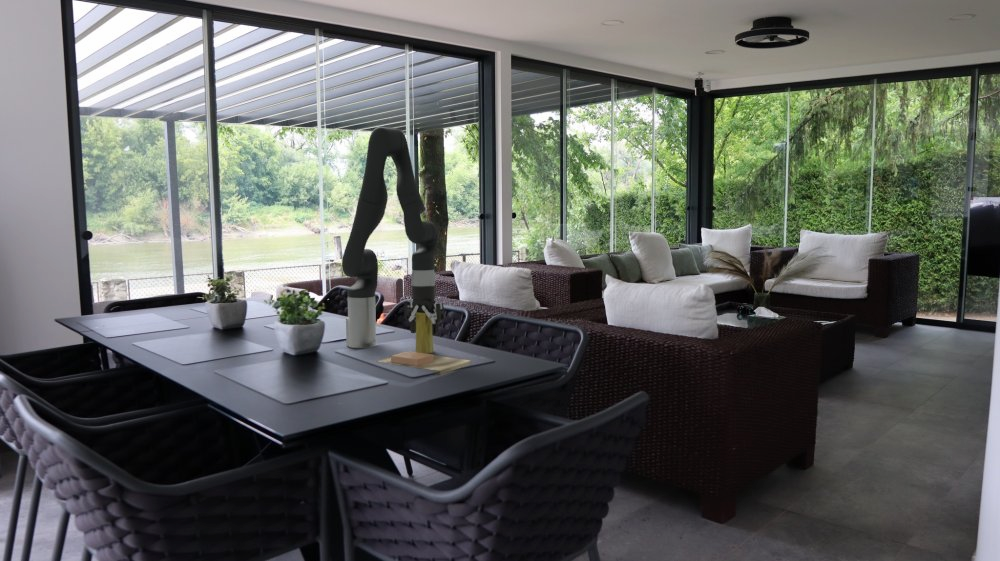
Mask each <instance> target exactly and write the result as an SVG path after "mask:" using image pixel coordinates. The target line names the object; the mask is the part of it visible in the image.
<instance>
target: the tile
mask: <svg viewBox="0 0 1000 561" xmlns="http://www.w3.org/2000/svg"><path fill="white" fill-rule="evenodd" d="M434 356H435V355H434V354H433V353H427V354H425V353H418V352H416V351H410V350H406V351H403V352H399V353H396V354H392V355H391V356H390V357H391V362H393V363H399V364H406V365H413V366H420V365H423V364H426V363H429V362H432V361H434Z"/></svg>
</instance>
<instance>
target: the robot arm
mask: <svg viewBox="0 0 1000 561" xmlns="http://www.w3.org/2000/svg"><path fill="white" fill-rule="evenodd" d="M388 158H391V160H392V162H393V163H394V166H395V168H396V185H395V186H396V187H395V191H396V196H397V199H398V201H399V205H400V208H401V210H402V213H403V222H404V231H405V234H406V237H407V239H408V240H409V241H410V242H411V243H413V244H415V245H416V244H417V245H418V249H417V250H416V251H414V252H413V253H412V254H411V298H412V300H405V301H404V309H403V310H404V314H403V315H404V320H407V321H408V322H409V332H410V334H416V312H418V313H426V315H427V316H428V318H430V319H431V321H432V335H433V337H434V336H438V334H440V333H439V332H440V323H442V322H445V308H444V303H443V302H437V303H436V301H435V300H436V275H435V254H436V249H437V244H438V237H439V233H438V232H439V231H438V228H437V226H436V224H435V223H434V222H432V221H429V220H427V221H426V220H424V221H423V220H422V216H421V214H423V213H424V212H425V205H424V202H423V201H424V200H423V199H422V197H421V193H420V190H419V187H418V185H417V182H416V179H415V175H414V170H413V164H412V159H411V155H410V148H409V144H408V141H407V138H406V135H405V133H404V132H403V131H402V130H401V129H399V128H395V127H388V126H386V127H385V126H378V127H376V128H374V129H373V130H372V132H371V133H370V135H369V139H368V144H367V153H366V159H365V160H366V161H365V168H364V173H363V179H362V184H361V189H360V192H359V196H358V200H357V205H356V210H355V215H354V218H353V223H352V226H351V229H350V234H349V236H348V240H347V242H346V246H345V249H344V251H343V255H342V260H341V269H342V271H343V273H344V275H345V276H346V277H348V278H357V279H356V281H355V282H354V284H353V285H351V286H350V287H348V289H347V318H346V319H345V335H346V336H345V338H346V346H347V347H349V348H351V349H368V348H372V347H376V346H377V333H376V332H377V329H376V328H377V321H376V319H377V318H376V316H377V315H376V292H377V288H378V278H379V277H378V276H379V264H378V263H379V262H378V257H377V254H376V253H375V251H374V250H372V249H369V248H366V246H367V242H368V240H369V239H370V237H371V235H372V234H373V232H374V231H375V230H376V229H377V227H378V226H379V225H380V223H381V222H382V220H383V218H384V215H385V214H386V213H385V212H386V208H387V204H388V200H389V196H388V190H387V189H388V188H387V184H386V181H385V176H384V172H385V168H386V167H385V166H386V162H387V159H388ZM431 313H432V314H431Z"/></svg>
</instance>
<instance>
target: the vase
mask: <svg viewBox="0 0 1000 561" xmlns="http://www.w3.org/2000/svg"><path fill="white" fill-rule="evenodd" d="M431 314H432V313H431ZM432 324H433V323H432V321H431V319H430V318H428V316H427V315H426V313H418V312H416V333H415V352H418V353H425V354H433V353H434V351H435V350H434V335H432Z"/></svg>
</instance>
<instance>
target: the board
mask: <svg viewBox="0 0 1000 561" xmlns="http://www.w3.org/2000/svg"><path fill="white" fill-rule="evenodd" d="M375 362H377V363H384V364H385V363H386V364H391V365H395V366H396V365H398V366H404V367H409V368H410V367H411V368H416V369H417V368H418V369H424V370H425V369H426V370H432V371H437V372H433V373H432V374H433V375H439V376H440V375H444V374H447V373H450V372H453V371H456V370H459V369H461V367H462V368H464V366H465V367H467V365H468V366H470V365H472V361H471V359H461V358H456V357H455V358H454V357H447V356H441V355H434V361H432V362H429V363H426V364H423V365H420V366H413V365H406V364H399V363H393V362H391V356H390V357H386V358H383V359H379V360H376V361H375Z"/></svg>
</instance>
